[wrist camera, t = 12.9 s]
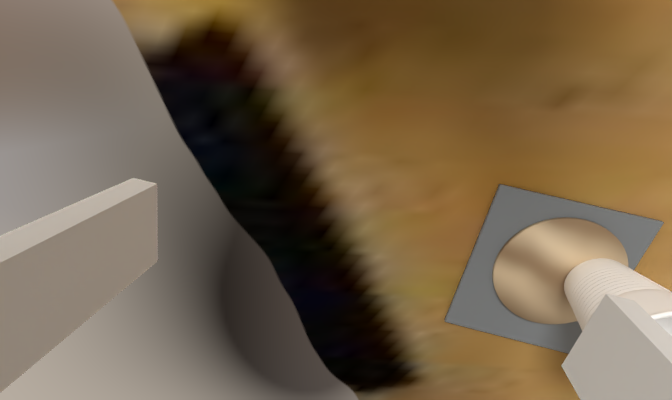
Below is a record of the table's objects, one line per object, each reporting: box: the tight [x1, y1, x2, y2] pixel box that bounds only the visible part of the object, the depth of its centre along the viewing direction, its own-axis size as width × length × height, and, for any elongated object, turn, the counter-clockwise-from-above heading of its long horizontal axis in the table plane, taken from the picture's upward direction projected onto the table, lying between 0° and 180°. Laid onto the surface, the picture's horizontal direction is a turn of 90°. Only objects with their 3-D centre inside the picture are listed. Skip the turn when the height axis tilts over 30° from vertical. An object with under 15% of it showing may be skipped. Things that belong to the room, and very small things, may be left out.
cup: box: [564, 258, 672, 336], centre depth 31 cm, size 10×10×11 cm
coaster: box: [492, 217, 628, 324], centre depth 37 cm, size 13×13×1 cm
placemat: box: [445, 184, 664, 354], centre depth 38 cm, size 18×16×1 cm
